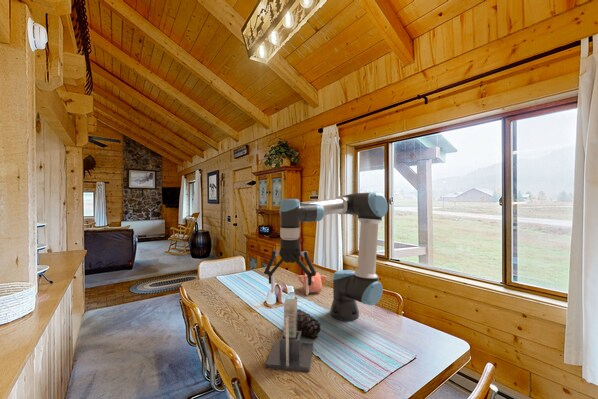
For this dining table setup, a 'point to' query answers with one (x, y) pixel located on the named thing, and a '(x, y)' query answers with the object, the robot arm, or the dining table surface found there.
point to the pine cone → (307, 325)
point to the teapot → (313, 282)
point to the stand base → (290, 353)
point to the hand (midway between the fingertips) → (290, 292)
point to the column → (291, 317)
